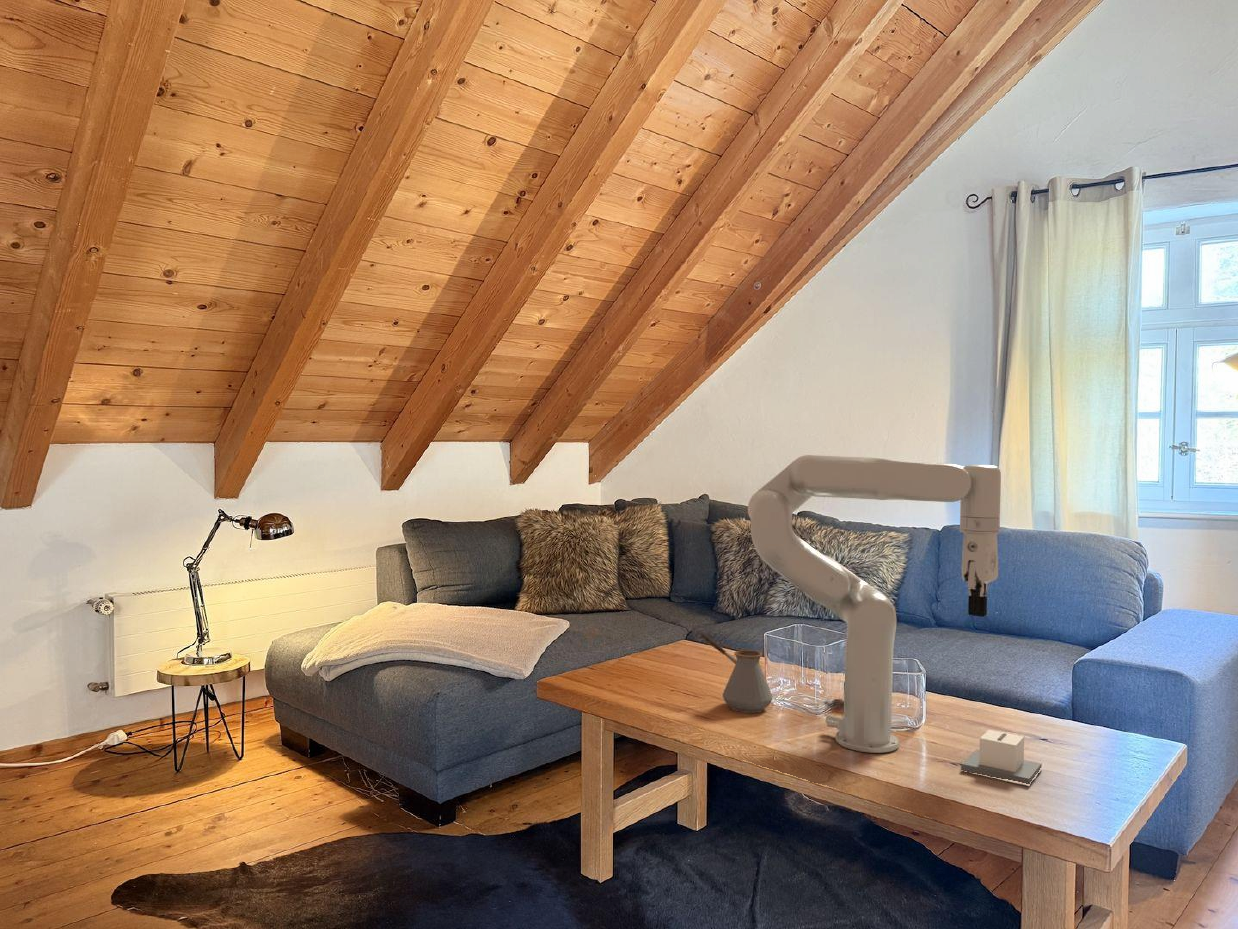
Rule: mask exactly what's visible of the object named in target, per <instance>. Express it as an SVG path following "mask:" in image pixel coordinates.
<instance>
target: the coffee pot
mask: <svg viewBox="0 0 1238 929" xmlns="http://www.w3.org/2000/svg"><path fill="white" fill-rule="evenodd" d="M700 636H701V637H702V638H701V639H699V637H700ZM697 639H698V641H703V640H705V641H706V642H708V643H709V644H710V645H711V647H713V648H714V649H715V650H717V651H718V652H720V653H721V654H722V655H724V656H725V657H726V658H728V659H729V660H730V661H731V662H733V664H734V668H733V670H732V672H731V674H730V676H729V679H728V681H727V684H726V685H725V688H724V690H723V693H722V698H723V700H724V702H725V703H726V704H727V705H728V707H729V706H730V709H731V710H732V711H735V712H738V711H740V712H739V713H744V712H748V714H754V713H755V712H757V713H760V711H761V712H763V711H764V710H765V709H766V708H767V707H769V705H770V704H771V703H772V700H773V695H772V694H773V693H772V692H771V689H770V687H769V683H768V682H767V679H766V677H765V674H764V672H763V669H762V666H761V664H760V660H761V657H762V656H763V653H762V652H761V651H758V650H753V649H752V650H749V649H745V650H744V649H742V650H740V649H739V650H736V651H734V656H735V657H736V658H735V657H733V656H732V655H731V654H729V653H728V652H727V651H726V650H725V649H724V648H723V647H722V646H721V645H720V644H718V643H717V642H716V641H715V640H713V639H711V638H710V636H708V635H706V634H705V633H703V632H701V633H700V634H698V636H697Z"/></svg>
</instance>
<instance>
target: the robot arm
mask: <svg viewBox="0 0 1238 929" xmlns="http://www.w3.org/2000/svg"><path fill="white" fill-rule="evenodd" d="M1001 482H1002V471H1001V469H1000V468H999V467H998V466H996V465H991V464H990V465H989V464H968V465H958V464H953V463H945V462H943V463H942V462H936V463H930V462H929V463H926V462H908V461H899V460H898V461H897V460H891V459H886V458H878V457H863V456H862V457H859V456H857V457H856V456H839V455H836V456H835V455H818V454H817V455H815V454H813V455H812V454H804V455H802V456H799V457H797V458H796V459H795V460H793V461H792V462H790V464H789V465H787V466H786V467H785V468H784V469H783V470H782V471H780V472H779V473H778V474H777V475H775V476H774V477H773V478H772V479H770V480H769V481H768V482H767V483H766V484H764V485H763V486H762V487H760V489H758V490H757V491H756V492H755V493H754V494H753V495H752V496H751V497H750V499H749V501H748V504H747V513H748V517H749V518H750V536H751V540H752V544H753V547H754V549H755V551H756V552H757V555H758V556H759V557H760V558H761V560H762V561H763V562H764V563H765V564H766V565H767V566H769V567H770V568H771V569H772V570H773V571H775V572H776V573H777V574H779V575H780V576H782V577H783V578H784V579H786V580H787V581H788V582H790V583H791V584H792V585H794V586H795V587H796V588H797V589H799V590H800V591H802V592H803V593H804V594H805V596H807V597H808V598H809V599H810V600H811V601H813V602H815V603H817V604H819V605H821V606H823V607H824V608H826V609H827V610H828V611H830V612H832V613H833V614H834V615H836V616H837V617H838V618H840V619H842V621H844V622H845V623H847V624H846V626H847V627H846V629H847V630H846V638H845V646H844V647H845V648H844V669H845V682H844V694H843V716H841V717H840V716H836V715H832V714H827V715H826V717H825V723H826V726H827V727H828V728H829V727H830V728H836V729H837V730H838V731H837V732H836V733H835V742H836V743H837V744H838V745H839V746H841V747H844V748H846V749H848V750H852V751H856V752H862V753H869V754H870V753H871V754H872V753H873V754H882V753H884V754H885V753H891V752H894V751H896V750H897V749H898V748H899V747H900V739H898V737H897V736H895V735H894V734H892V717H893V716H892V714H893V713H892V710H893V708H892V707H893V668H894V667H893V666H894V665H893V664H894V646H895V637H896V631H897V620H898V619H897V614H896V609H895V607H894V605H893V603H892V601H891V600H890V599H889V597H887V596H886V595H885V594H884V593H882V592H880V591H879V590H878V589H876V588H875V587H873V586H872V585H870V584H869V583H868V582H866V581H864V580H863V579H862V578H860V577H859V576H858V575H856V574H854V573H853V572H852V571H850V570H849V569H847V568H846V567H845V566H843V565H842V564H840V562H838V561H837V560H835V559H834V558H833V557H830V556H828V555H825V554H822V553H821V552H819V551H818V550H816V549H815V548H814V547H812V546H811V545H810V544H809V543H808V542H806V541H804V540H803V539H802V538H800V537H799V536H798V535H797V534H796V533H795V532H794V529H793V527H792V518H793V513H794V512H795V511H796V510H798V509H799V508H800V507H801V506H802V505H804V504H805V503H806V502H807V501H808V500H809V499H811V498H812V497H816V498H817V497H818V498H834V499H835V498H836V499H837V498H841V499H860V500H862V499H863V500H876V501H877V500H878V501H892V500H893V501H894V500H899V501H914V502H915V501H917V502H919V501H920V502H938V503H955V502H960V507H959V509H960V510H959V511H960V512H959V513H960V515H959V532H960V533H963V538H962V539H963V540H962V552H961V579H962V580H963V581H964V582H967V589H968V602H967V603H968V604H967V605H968V606H967V607H968V609H967V611H968V613H967V614H968V615H969V616H973V617H974V616H975V617H980V618H981V617H982V618H984V617H985V616H987V614H988V613H987V611H988V591H989V590H988V588H989V587H988V586H989V583H991V582H992V583H993V582H994V581H995V580H997V579H998V578H999V552H998V551H999V548H998V546H999V545H998V538H997V537H998V536H997V535H1000V530H1001V529H1000V525H1001V523H1000V522H1001V490H1002V489H1001V486H1002V483H1001Z"/></svg>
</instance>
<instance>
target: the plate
mask: <svg viewBox="0 0 1238 929" xmlns="http://www.w3.org/2000/svg"><path fill="white" fill-rule="evenodd" d="M1041 767H1043V766H1042V763H1041V762H1036V761H1032V760H1027V759H1024V763H1023V764H1022V765H1021V766H1020V767H1019V768H1018V770H1017V771H1016V772H1012V771H1007V770H1003V769H998V768H993V767H989V766H984V765H980V764H979V749H975V750H974V751H973V752H971V754H970V755H968V757H966V758H965V759H964V760H963V761H962V762H961V763H960V771H961V770H963V771H967V772H971V773H977V774H982V775H987V776H990V777H996V778H1001V779H1008V780H1013V781H1018V782H1022V783H1026V784H1030V782H1031V781H1032V779H1033V778H1034V777H1035V775H1036V774H1037V773H1038V772H1039V770H1040V768H1041Z"/></svg>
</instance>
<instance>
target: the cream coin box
mask: <svg viewBox="0 0 1238 929" xmlns="http://www.w3.org/2000/svg"><path fill="white" fill-rule="evenodd" d="M978 750H979V764H980V765H984V766H989V767H993V768H998V769H1003V770H1007V771H1012V772H1016V771H1017V770H1018V768H1019V767H1020V766H1021V765H1022V764H1023V763H1024V760H1025V759H1024V758H1025V757H1024V756H1025V755H1024V754H1025V736H1023V735H1018V734H1013V733H1007V732H1004V731H1003V732H1002V731H997V730H992V729H987V731H986V732H985V733H984V734H983V735H981V736H980V737H979V749H978Z"/></svg>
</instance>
